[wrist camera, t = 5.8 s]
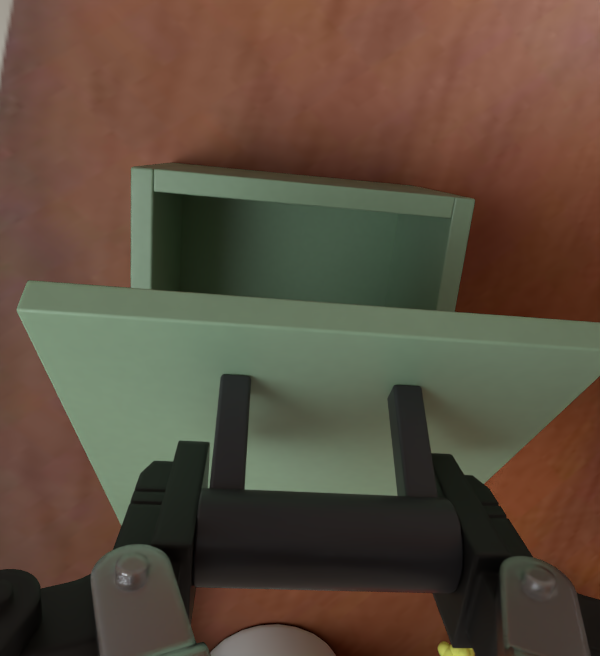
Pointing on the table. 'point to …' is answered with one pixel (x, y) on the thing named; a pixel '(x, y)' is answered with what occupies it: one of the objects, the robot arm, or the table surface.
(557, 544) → the table surface
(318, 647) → the mug
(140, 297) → the lid
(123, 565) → the robot arm
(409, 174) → the table surface
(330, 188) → the compartment
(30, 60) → the table surface
